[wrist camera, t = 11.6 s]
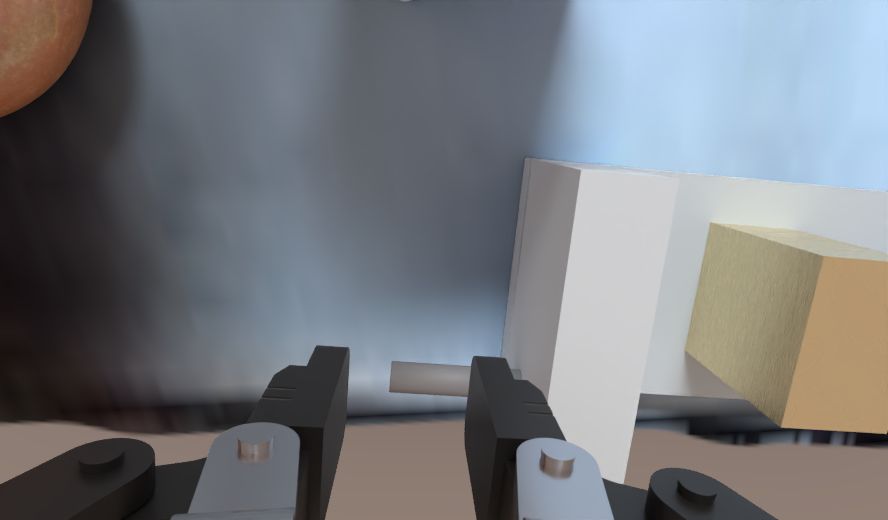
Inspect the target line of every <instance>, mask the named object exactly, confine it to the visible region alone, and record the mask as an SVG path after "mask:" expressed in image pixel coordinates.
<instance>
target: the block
mask: <svg viewBox="0 0 888 520" xmlns="http://www.w3.org/2000/svg"><path fill="white" fill-rule="evenodd" d="M685 351H686V352H688V353H689V354H690V355H691V356H693V357H694V358H695V359H696V360H697V361H699V362H700V363H701V364H702V365H704V366H705V367H706V368H707V369H709V370H710V371H711V372H712V373H714V374H715V375H716V376H717V377H719V378H720V379H721V380H722V381H724V382H725V383H726V384H727V385H729V386H730V387H731V388H732V389H734V390H735V391H736V392H737V393H739V394H740V395H741V396H742V397H744V398H745V399H746V400H747V401H749V402H750V403H751V404H752V405H754V406H755V407H756V408H757V409H759V410H760V411H761V412H762V413H764V414H765V415H766V416H767V417H769V418H770V419H771V420H772V421H774V422H775V423H776V424H777V425H779V426H780V427H783V428H799V429H816V430H832V431H849V432H865V433H882V434H887V431H888V253H885V252H881V251H877V250H873V249H869V248H865V247H861V246H857V245H853V244H849V243H845V242H841V241H837V240H833V239H830V238H826V237H822V236H818V235H814V234H810V233H806V232H802V231H798V230H794V229H783V228H771V227H760V226H749V225H738V224H726V223H715V222H710V227H709V232H708V237H707V242H706V247H705V252H704V257H703V262H702V267H701V272H700V277H699V281H698V286H697V291H696V296H695V301H694V306H693V311H692V316H691V321H690V326H689V331H688V336H687V341H686V346H685Z"/></svg>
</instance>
